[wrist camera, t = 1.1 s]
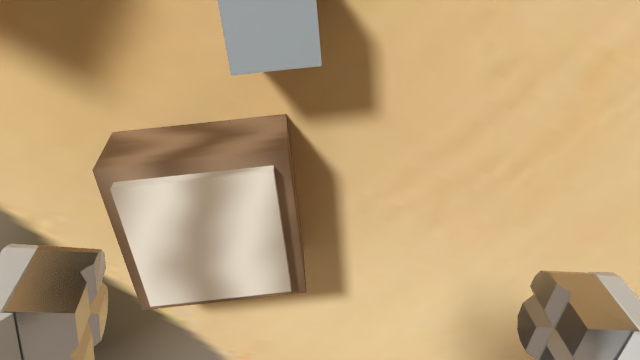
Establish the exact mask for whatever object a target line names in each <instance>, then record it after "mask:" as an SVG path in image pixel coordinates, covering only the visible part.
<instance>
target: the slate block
mask: <svg viewBox="0 0 640 360" xmlns="http://www.w3.org/2000/svg"><path fill="white" fill-rule="evenodd" d="M218 5H219V10H220V16H221V22H222V27H223V33H224V38H225V44H226V50H227V55H228V61H229V67H230V72H231V75H240V74H250V73H259V72H269V71H279V70H288V69H298V68H308V67H317V66H322V61H321V49H320V37H319V25H318V14H317V2H316V0H218Z"/></svg>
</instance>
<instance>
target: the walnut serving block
mask: <svg viewBox="0 0 640 360" xmlns="http://www.w3.org/2000/svg"><path fill="white" fill-rule="evenodd" d="M92 171H93V173H94V176H95V179H96V182H97V185H98V187H99V190H100V193H101V196H102V199H103V201H104V204H105V207H106V210H107V213H108V215H109V218H110V221H111V224H112V227H113V230H114V232H115V235H116V238H117V241H118V244H119V246H120V249H121V252H122V255H123V258H124V260H125V263H126V266H127V269H128V272H129V274H130V277H131V280H132V283H133V286H134V289H135V291H136V294H137V297H138V300H139V303H140V305H141V308H142V310H148V309H158V308H167V307H176V306H185V305H194V304H203V303H213V302H222V301H231V300H240V299H249V298H258V297H268V296H277V295H286V294H295V293H304V292H306V282H305V267H304V252H303V243H302V235H301V227H300V219H299V211H298V203H297V195H296V187H295V180H294V172H293V164H292V156H291V148H290V140H289V132H288V125H287V117H286V114H285V115H275V116H266V117H256V118H247V119H237V120H228V121H218V122H208V123H199V124H189V125H180V126H170V127H161V128H151V129H142V130H132V131H123V132H113V133H112V134H111V136H110V138H109V140H108V142H107V144H106V146H105V148H104V150H103V151H102V153H101V155H100V157H99V159H98V161H97V163H96V165H95V167H94V168H93V170H92Z"/></svg>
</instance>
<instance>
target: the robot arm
mask: <svg viewBox="0 0 640 360" xmlns="http://www.w3.org/2000/svg"><path fill="white" fill-rule="evenodd" d="M105 269H106V264H105V255H104V252H103V251H102V250H101V249H87V248H72V247H58V246H38V245H22V244H9V245H8V246H6V247H5V248H4V249H3V250H2V251H1V253H0V360H94V350H93V347H94V346H95V345H96V344H97V343H99V342H100V341H101V339H102V335H103V332H104V328H105V322H106V316H107V308H108V293H107V287H106V286H105V285H104V284H103V283H102V282H101V281H102V278H103V275H104V272H105ZM530 287H531V289H532V292H533V294H534V295H533V296H532V297H530V298H529V299H528V300H526V301H525V302H524V303H523V304H522V306H521V309H520V312H519V314H518V328H517V330H518V334H519V338H520V341H521V343H522V345H523V347H524V349H525V351H526V352H528V353H529V354H530V355H532V356H533V357H534V358H535V359H537V360H640V300H639V299H638V297H637V296H636V295H635V294H634V293H633V291H632V290H631V289H630V288H629V287H628V285H627V284H626V283H625V282H624V281H623V279H622V278H621V277H620V276H618V275H616V274H614V273H608V272H588V273H584V272H560V271H540V272H539V273H538V274H537V275H536V276H535V277H534V279H533V281H532V283H531V286H530Z"/></svg>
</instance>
